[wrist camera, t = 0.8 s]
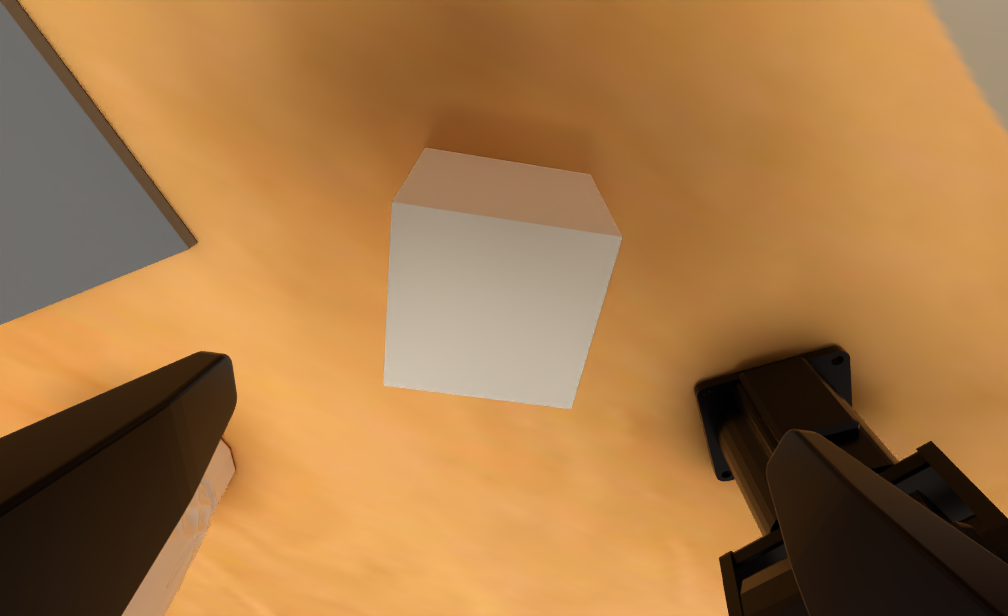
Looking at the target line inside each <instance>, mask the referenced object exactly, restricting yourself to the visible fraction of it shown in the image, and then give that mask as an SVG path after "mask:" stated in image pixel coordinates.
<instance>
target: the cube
mask: <svg viewBox="0 0 1008 616" xmlns="http://www.w3.org/2000/svg"><path fill="white" fill-rule="evenodd" d="M622 238H623V237H622V235H621V233H620V231H619V229H618V227H617V225H616V223H615V221H614V219H613V217H612V215H611V213H610V211H609V209H608V208H607V206H606V204H605V202H604V200H603V198H602V196H601V194H600V192H599V190H598V188H597V186H596V184H595V182H594V180H593V178H592V176H591V174H586V173H580V172H574V171H568V170H562V169H555V168H549V167H543V166H537V165H531V164H525V163H518V162H512V161H506V160H500V159H494V158H487V157H481V156H475V155H469V154H463V153H457V152H450V151H444V150H438V149H432V148H426V147H425V149H424V150H423V152H422V154H421V155H420V157H419V158H418V160H417V162H416V163H415V165H414V167H413V168H412V170H411V171H410V173H409V175H408V176H407V178H406V180H405V181H404V183H403V184H402V186H401V188H400V189H399V191H398V193H397V194H396V196H395V197H394V199H393V201H392V209H391V231H390V253H389V275H388V297H387V319H386V341H385V363H384V385H383V386H391V387H399V388H407V389H415V390H423V391H431V392H439V393H447V394H455V395H463V396H471V397H479V398H487V399H495V400H503V401H510V402H518V403H526V404H534V405H542V406H550V407H558V408H566V409H571V408H572V405H573V401H574V398H575V395H576V391H577V388H578V385H579V381H580V378H581V375H582V371H583V368H584V365H585V361H586V358H587V355H588V351H589V348H590V345H591V341H592V338H593V335H594V331H595V328H596V324H597V321H598V318H599V314H600V311H601V308H602V304H603V301H604V298H605V294H606V291H607V288H608V284H609V281H610V278H611V274H612V271H613V268H614V264H615V261H616V258H617V254H618V251H619V248H620V244H621V241H622Z"/></svg>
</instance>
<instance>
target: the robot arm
mask: <svg viewBox="0 0 1008 616" xmlns="http://www.w3.org/2000/svg"><path fill="white" fill-rule="evenodd" d="M837 356H838V357H837ZM834 357H837V358H835V359H833V358H834ZM832 359H833V360H832ZM707 391H710V392H709V393H707V394H704V393H705V392H707ZM694 393H695V397H696V401H697V405H698V410H699V414H700V418H701V422H702V426H703V430H704V434H705V438H706V442H707V446H708V450H709V454H710V458H711V462H712V466H713V470H714V473H715V475H716V477H717V479H718V480H720V481H730V480H734V479H735V480H736V482H737V484H738V486H739V488H740V490H741V492H742V494H743V496H744V498H745V501H746V503H747V505H748V507H749V509H750V511H751V513H752V515H753V517H754V519H755V521H756V523H757V525H758V527H759V529H760V531H761V533H762V536H763V537H761V538H759V539H757V540H755V541H753V542H752V543H750V544H748V545H746V546H744V547H742V548H741V549H739V550H737V551H735V552H732V551H730V552H728V553H726V554H724V555H723V556H721V557H719V561H720V567H721V572H722V578H723V585H724V591H725V597H726V602H727V608H728V614H729V616H1008V518H1007V517H1006V516H1005V515H1004V514H1003V513H1002V512H1001V511H1000V510H999V509H998V508H997V507H996V506H995V505H994V504H993V503H992V502H991V501H990V500H989V499H988V498H987V497H986V496H985V495H984V494H983V493H982V492H981V491H980V490H979V489H978V488H977V487H976V486H975V485H974V484H973V483H972V482H971V481H970V480H969V479H968V478H967V477H966V476H965V475H964V474H963V473H962V472H961V471H960V470H959V469H958V468H957V467H956V466H955V465H954V463H953V462H952V461H951V460H950V459H949V458H948V457H947V456H946V455H945V454H944V453H943V452H942V451H941V450H940V449H939V448H938V447H937V446H936V445H935V444H934V443H933V442H932V441H930V442H928V443H926V444H924V445H922V446H921V447H919V448H917V449H916V450H917V451H918V452H916V453H914V454H912V455H910V456H909V457H907V458H905V459H903V460H901V461H900V462H899V461H898V460H897V459H896V458H895V457H894V456H893V454H892V453H891V452H890V451H889V450H888V449H887V447H886V446H885V445H884V444H883V443H882V442H881V441H880V439H879V438H878V437H877V436H876V435H875V434H874V432H873V431H872V430H871V429H870V428H869V427H868V426H867V424H866V423H865V422H864V421H863V420H862V419H861V418H860V416H859V415H858V414H857V413H856V412H855V411H854V409H853V408H852V394H851V370H850V356H849V354H848V353H847V352H846V351H845V350H844V349H843V348H842V347H840V346H832V347H828V348H824V349H821V350H817V351H814V352H810V353H806V354H803V355H799V356H795V357H792V358H788V359H784V360H781V361H777V362H774V363H770V364H766V365H763V366H759V367H755V368H752V369H748V370H744V371H741V372H737V373H734V374H730V375H726V376H723V377H719V378H715V379H712V380H708V381H704V382H702V383H700V384H698V385H697V386H696V388H695V389H694ZM236 402H237V392H236V385H235V378H234V372H233V365H232V361H231V359H230V357H229V356H228V355H226V354H222V353H214V352H207V351H200V352H197V353H194V354H192V355H190V356H187V357H185V358H183V359H180V360H178V361H176V362H174V363H171V364H169V365H167V366H164V367H162V368H160V369H158V370H155V371H153V372H151V373H148V374H146V375H144V376H141V377H139V378H137V379H135V380H132V381H130V382H128V383H125V384H123V385H121V386H119V387H116V388H114V389H112V390H109V391H107V392H105V393H103V394H100V395H98V396H96V397H93V398H91V399H89V400H86V401H84V402H82V403H80V404H77V405H75V406H73V407H70V408H68V409H66V410H63V411H61V412H59V413H57V414H54V415H52V416H50V417H47V418H45V419H43V420H41V421H38V422H36V423H34V424H31V425H29V426H27V427H24V428H22V429H20V430H18V431H15V432H13V433H11V434H8V435H6V436H4V437H1V438H0V616H122V614H123V613H124V611H125V609H126V608H127V606H128V605H129V603H130V601H131V600H132V598H133V596H134V595H135V593H136V591H137V590H138V588H139V586H140V585H141V583H142V582H143V580H144V578H145V577H146V575H147V573H148V572H149V570H150V568H151V567H152V565H153V563H154V562H155V560H156V559H157V557H158V555H159V554H160V552H161V550H162V549H163V547H164V545H165V544H166V542H167V540H168V539H169V537H170V536H171V534H172V532H173V531H174V529H175V527H176V526H177V524H178V522H179V521H180V519H181V517H182V516H183V514H184V512H185V511H186V509H187V507H188V505H189V504H190V502H191V500H192V499H193V497H194V495H195V493H196V491H197V489H198V487H199V485H200V483H201V480H202V478H203V476H204V474H205V472H206V470H207V468H208V466H209V463H210V461H211V459H212V457H213V455H214V453H215V451H216V448H217V446H218V444H219V442H220V440H221V438H222V436H223V434H224V431H225V429H226V427H227V425H228V423H229V421H230V419H231V416H232V414H233V412H234V410H235V407H236Z"/></svg>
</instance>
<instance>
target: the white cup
mask: <svg viewBox="0 0 1008 616" xmlns="http://www.w3.org/2000/svg"><path fill="white" fill-rule="evenodd" d="M234 472H235V467H234V463H233V459H232V455H231V451H230V449H229V447H228V446H227V445H226V444H225V443H224V442H223V441H222V439H221V440H220V442H219V444H218V446H217V448H216V451H215V453H214V455H213V457H212V459H211V461H210V463H209V466H208V468H207V470H206V472H205V474H204V476H203V478H202V480H201V483H200V485H199V487H198V489H197V491H196V493H195V495H194V497H193V499H192V500H191V502H190V504H189V505H188V507H187V509H186V511H185V512H184V514H183V516H182V517H181V519H180V521H179V522H178V524H177V526H176V527H175V529H174V531H173V532H172V534H171V536H170V537H169V539H168V540H167V542H166V544H165V545H164V547H163V549H162V550H161V552H160V554H159V555H158V557H157V559H156V560H155V562H154V563H153V565H152V567H151V568H150V570H149V572H148V573H147V575H146V577H145V578H144V580H143V582H142V583H141V585H140V586H139V588H138V590H137V591H136V593H135V595H134V596H133V598H132V600H131V601H130V603H129V605H128V606H127V608H126V609H125V611H124V613H123V614H122V616H165V614H166V612H167V610H168V608H169V607H170V605H171V603H172V601H173V599H174V597H175V595H176V594H177V592H178V590H179V588H180V586H181V584H182V582H183V579H184V577H185V574H186V572H187V570H188V568H189V567H190V565H191V563H192V561H193V560H194V558H195V556H196V554H197V552H198V550H199V547H200V545H201V542H202V540H203V538H204V537H205V535H206V533H207V531H208V529H209V527H210V525H211V519H212V516H213V515H214V512H215V510H216V507H217V506H218V504H219V502H220V500H221V498H222V496H223V494H224V493H225V491H226V489H227V487H228V485H229V482H230V480H231V478H232V476H233V474H234Z"/></svg>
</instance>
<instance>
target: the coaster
mask: <svg viewBox="0 0 1008 616" xmlns="http://www.w3.org/2000/svg"><path fill="white" fill-rule="evenodd" d="M196 243H197V241H196V240H195V239H194V237H193V236H192V235H191V233H190V232H189V231H188V229H187V228H186V227H185V225H184V224H183V223H182V221H181V220H180V219H179V217H178V216H177V215H176V213H175V212H174V211H173V209H172V208H171V206H170V205H169V204H168V202H167V201H166V200H165V198H164V197H163V196H162V194H161V193H160V192H159V190H158V189H157V188H156V186H155V185H154V184H153V182H152V181H151V180H150V178H149V177H148V176H147V174H146V173H145V172H144V170H143V169H142V168H141V166H140V165H139V164H138V162H137V161H136V160H135V158H134V157H133V156H132V154H131V153H130V152H129V150H128V149H127V148H126V146H125V145H124V144H123V142H122V141H121V140H120V138H119V137H118V136H117V134H116V133H115V132H114V130H113V129H112V128H111V126H110V125H109V124H108V122H107V121H106V120H105V118H104V117H103V116H102V114H101V113H100V112H99V110H98V109H97V108H96V106H95V105H94V104H93V102H92V101H91V100H90V98H89V97H88V96H87V94H86V93H85V92H84V90H83V89H82V88H81V86H80V85H79V84H78V82H77V81H76V80H75V78H74V77H73V76H72V74H71V73H70V72H69V70H68V69H67V68H66V66H65V65H64V64H63V62H62V61H61V60H60V58H59V57H58V56H57V54H56V53H55V52H54V50H53V49H52V48H51V46H50V45H49V44H48V42H47V41H46V40H45V38H44V37H43V36H42V34H41V33H40V32H39V30H38V29H37V28H36V26H35V25H34V24H33V22H32V21H31V20H30V18H29V17H28V15H27V14H26V13H25V11H24V10H23V9H22V7H21V6H20V5H19V3H18V2H17V1H16V0H0V325H1V324H4V323H6V322H9V321H11V320H14V319H16V318H19V317H21V316H24V315H26V314H29V313H31V312H34V311H36V310H39V309H41V308H44V307H46V306H49V305H51V304H54V303H56V302H58V301H61V300H63V299H66V298H68V297H71V296H73V295H76V294H78V293H81V292H83V291H86V290H88V289H91V288H93V287H96V286H98V285H101V284H103V283H106V282H108V281H111V280H113V279H116V278H118V277H121V276H123V275H126V274H128V273H131V272H133V271H136V270H138V269H141V268H143V267H146V266H148V265H150V264H153V263H155V262H158V261H160V260H163V259H165V258H168V257H170V256H173V255H175V254H178V253H180V252H183V251H185V250H188V249H190V248H191V247H192V246H194V245H195V244H196Z"/></svg>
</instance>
